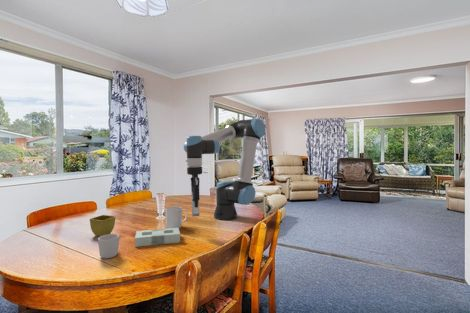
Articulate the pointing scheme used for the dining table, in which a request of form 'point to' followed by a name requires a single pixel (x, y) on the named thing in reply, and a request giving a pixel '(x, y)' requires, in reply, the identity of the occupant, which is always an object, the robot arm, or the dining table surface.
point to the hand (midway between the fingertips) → (195, 212)
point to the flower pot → (102, 224)
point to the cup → (108, 245)
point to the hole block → (157, 237)
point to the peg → (192, 207)
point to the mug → (174, 217)
